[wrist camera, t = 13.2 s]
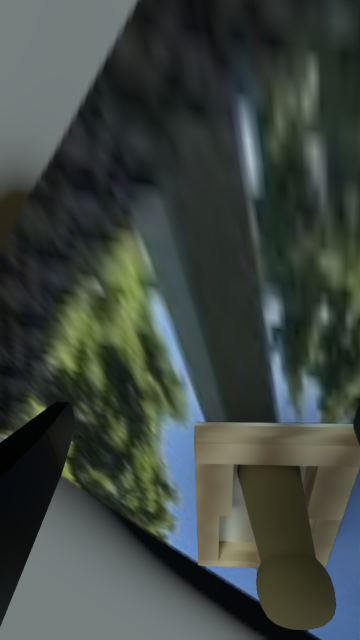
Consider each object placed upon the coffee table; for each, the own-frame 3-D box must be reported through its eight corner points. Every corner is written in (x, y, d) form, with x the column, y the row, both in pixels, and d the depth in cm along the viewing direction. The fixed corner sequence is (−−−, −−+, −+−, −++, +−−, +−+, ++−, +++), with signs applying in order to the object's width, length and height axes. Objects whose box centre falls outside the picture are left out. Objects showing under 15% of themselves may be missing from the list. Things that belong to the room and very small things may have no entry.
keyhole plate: (353, 423, 26) (366, 446, 24) (316, 546, 35) (324, 571, 33) (194, 422, 27) (194, 443, 25) (198, 542, 36) (198, 565, 34)
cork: (275, 496, 31) (309, 648, 21) (225, 476, 30) (237, 626, 20) (313, 463, 28) (372, 620, 19) (260, 440, 27) (293, 592, 18)
